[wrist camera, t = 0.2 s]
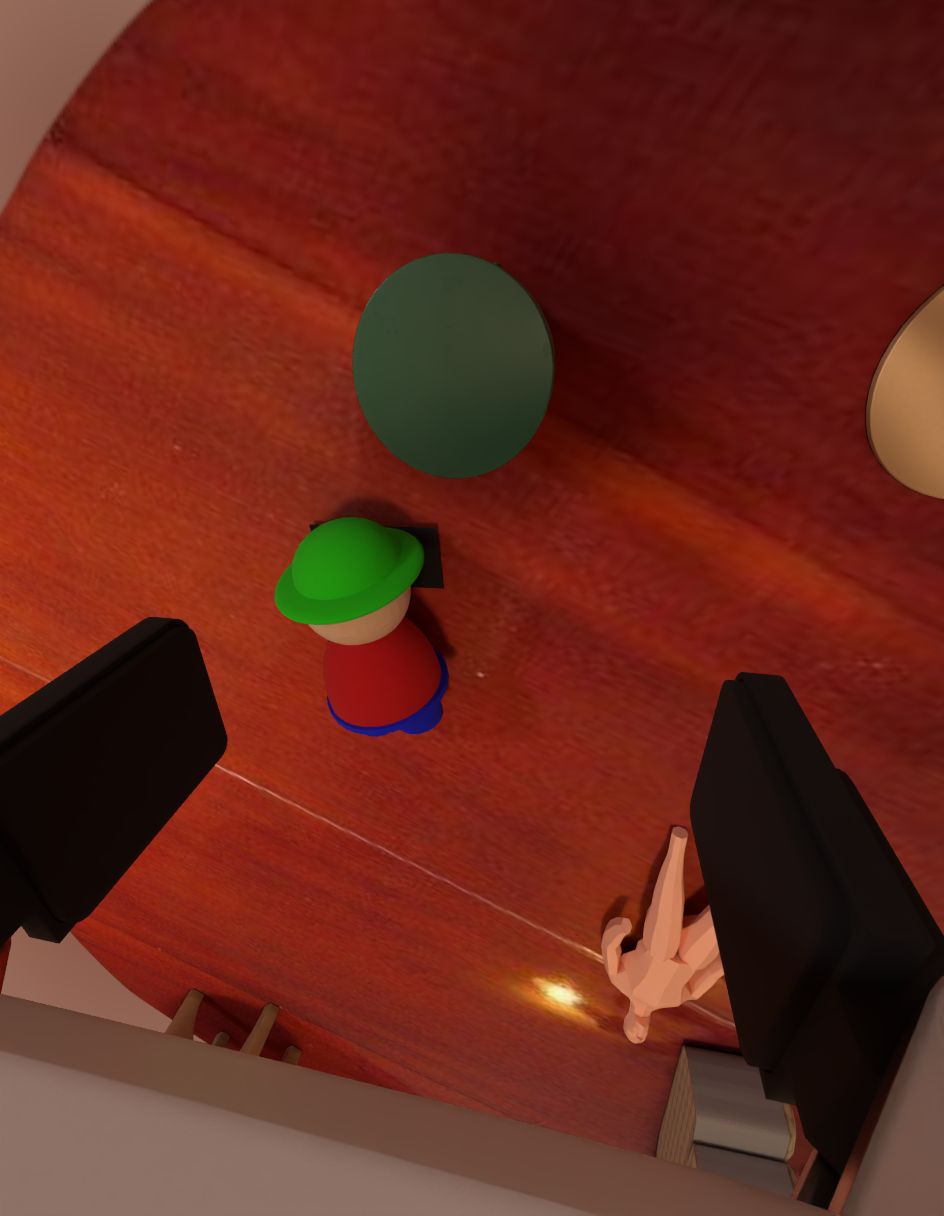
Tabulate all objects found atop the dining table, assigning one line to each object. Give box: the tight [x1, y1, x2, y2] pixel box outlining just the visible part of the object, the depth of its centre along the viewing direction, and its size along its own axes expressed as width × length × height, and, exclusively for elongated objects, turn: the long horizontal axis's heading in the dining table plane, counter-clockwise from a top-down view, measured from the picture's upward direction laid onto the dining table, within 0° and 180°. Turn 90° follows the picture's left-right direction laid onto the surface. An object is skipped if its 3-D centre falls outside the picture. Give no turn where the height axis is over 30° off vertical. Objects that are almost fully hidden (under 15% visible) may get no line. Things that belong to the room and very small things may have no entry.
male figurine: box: [601, 827, 724, 1044], centre depth 45 cm, size 11×5×25 cm
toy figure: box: [275, 517, 449, 737], centre depth 33 cm, size 9×10×15 cm
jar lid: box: [352, 253, 556, 478], centre depth 19 cm, size 7×7×2 cm
